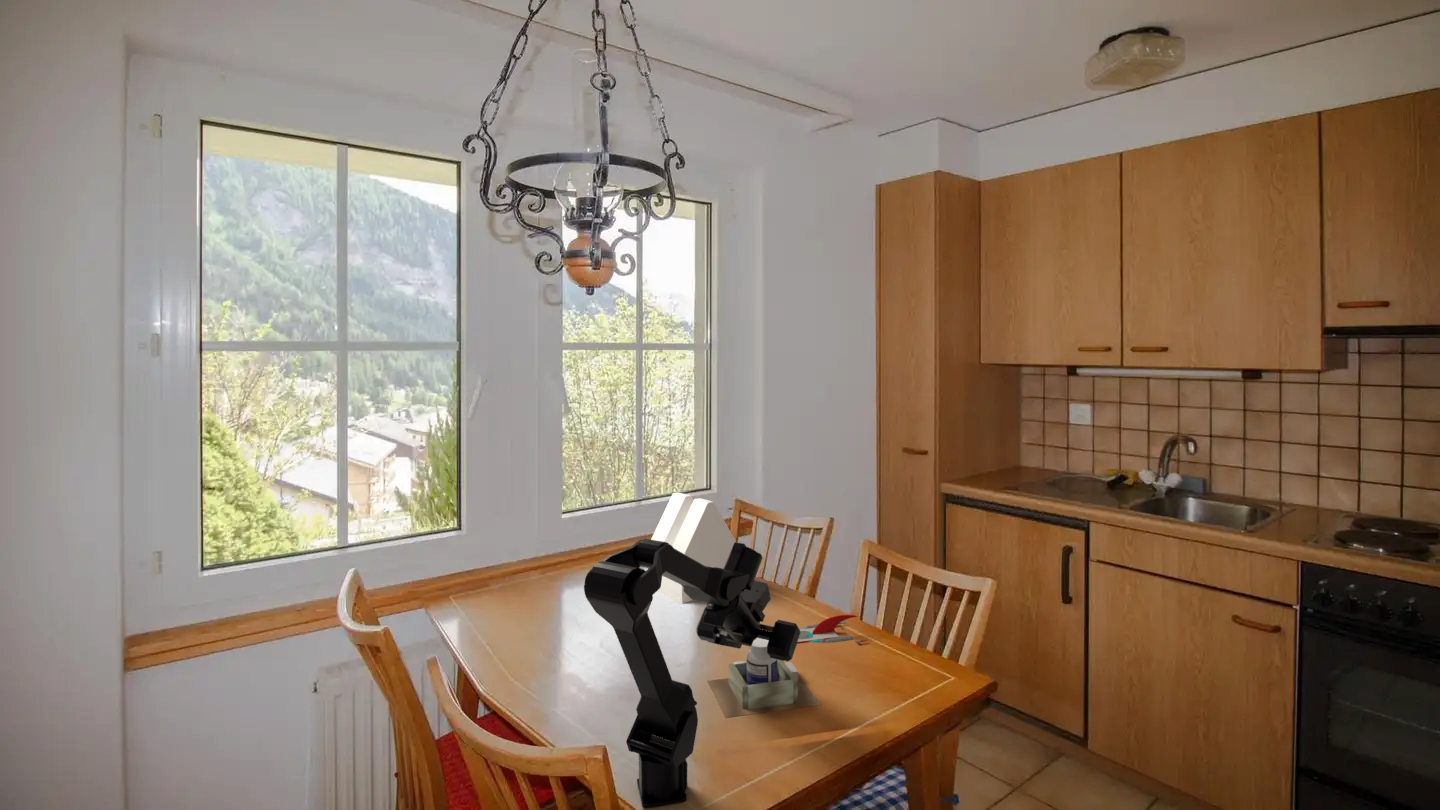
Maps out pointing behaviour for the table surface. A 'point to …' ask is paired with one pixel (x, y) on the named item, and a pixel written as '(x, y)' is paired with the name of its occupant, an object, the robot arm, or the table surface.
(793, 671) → the block
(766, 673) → the pill bottle
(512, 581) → the table surface
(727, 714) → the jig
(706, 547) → the white sloped block
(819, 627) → the toy spaceship
